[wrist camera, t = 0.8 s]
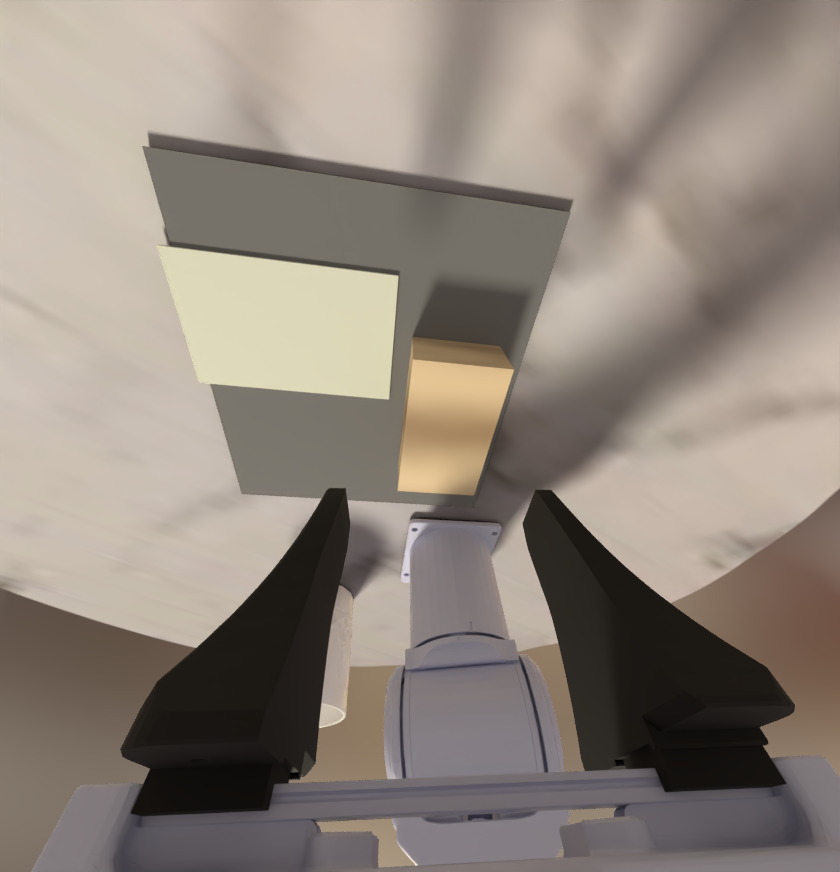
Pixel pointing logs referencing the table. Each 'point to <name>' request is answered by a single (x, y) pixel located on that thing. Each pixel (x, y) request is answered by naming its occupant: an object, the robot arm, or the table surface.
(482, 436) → the oak block
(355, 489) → the rubber mat
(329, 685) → the white cup
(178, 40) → the table surface
